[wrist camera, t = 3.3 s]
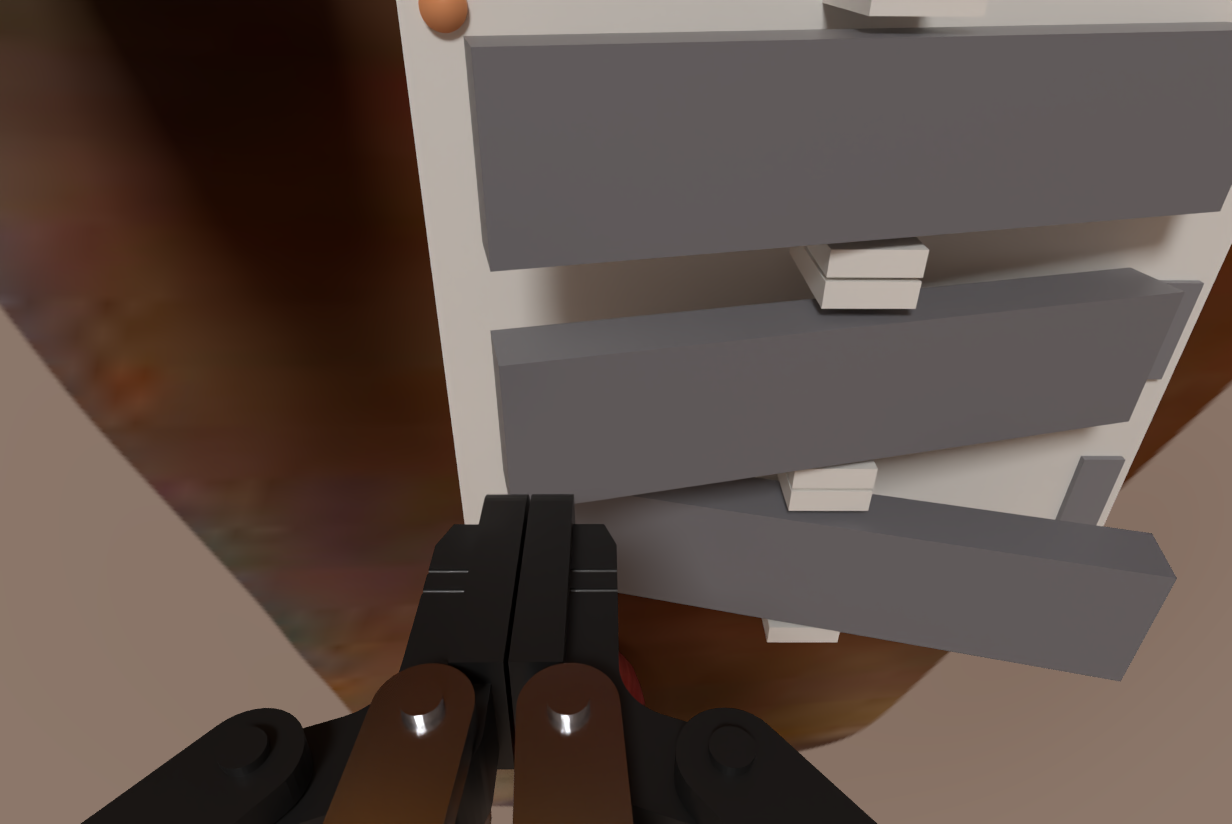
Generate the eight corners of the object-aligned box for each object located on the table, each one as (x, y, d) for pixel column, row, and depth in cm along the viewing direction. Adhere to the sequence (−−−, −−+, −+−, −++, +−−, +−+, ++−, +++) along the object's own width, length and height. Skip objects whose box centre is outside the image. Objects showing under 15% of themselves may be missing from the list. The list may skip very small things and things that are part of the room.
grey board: (536, 446, 22) (518, 479, 20) (1151, 533, 19) (1176, 578, 17) (542, 540, 24) (525, 576, 22) (1101, 633, 21) (1120, 681, 19)
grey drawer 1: (463, 36, 13) (470, 47, 11) (1225, 21, 16) (1299, 29, 15) (482, 241, 15) (489, 271, 13) (1159, 191, 18) (1220, 211, 17)
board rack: (435, -75, 19) (332, -85, 12) (1209, -70, 19) (1552, -77, 12) (492, 483, 29) (453, 660, 22) (1011, 484, 29) (1141, 661, 22)
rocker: (490, 330, 16) (498, 366, 14) (1130, 267, 19) (1185, 291, 18) (503, 470, 18) (511, 513, 16) (1082, 391, 21) (1128, 421, 20)
